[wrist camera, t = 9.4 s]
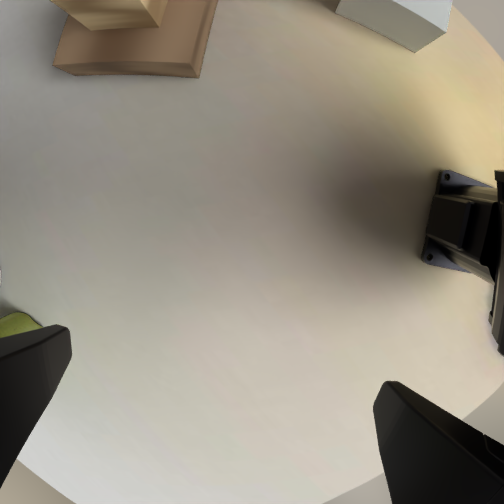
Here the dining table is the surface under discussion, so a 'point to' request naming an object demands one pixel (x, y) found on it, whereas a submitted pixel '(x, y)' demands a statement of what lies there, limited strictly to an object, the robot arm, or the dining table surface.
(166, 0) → the oak block
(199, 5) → the walnut block
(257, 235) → the dining table surface
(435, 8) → the grey block
